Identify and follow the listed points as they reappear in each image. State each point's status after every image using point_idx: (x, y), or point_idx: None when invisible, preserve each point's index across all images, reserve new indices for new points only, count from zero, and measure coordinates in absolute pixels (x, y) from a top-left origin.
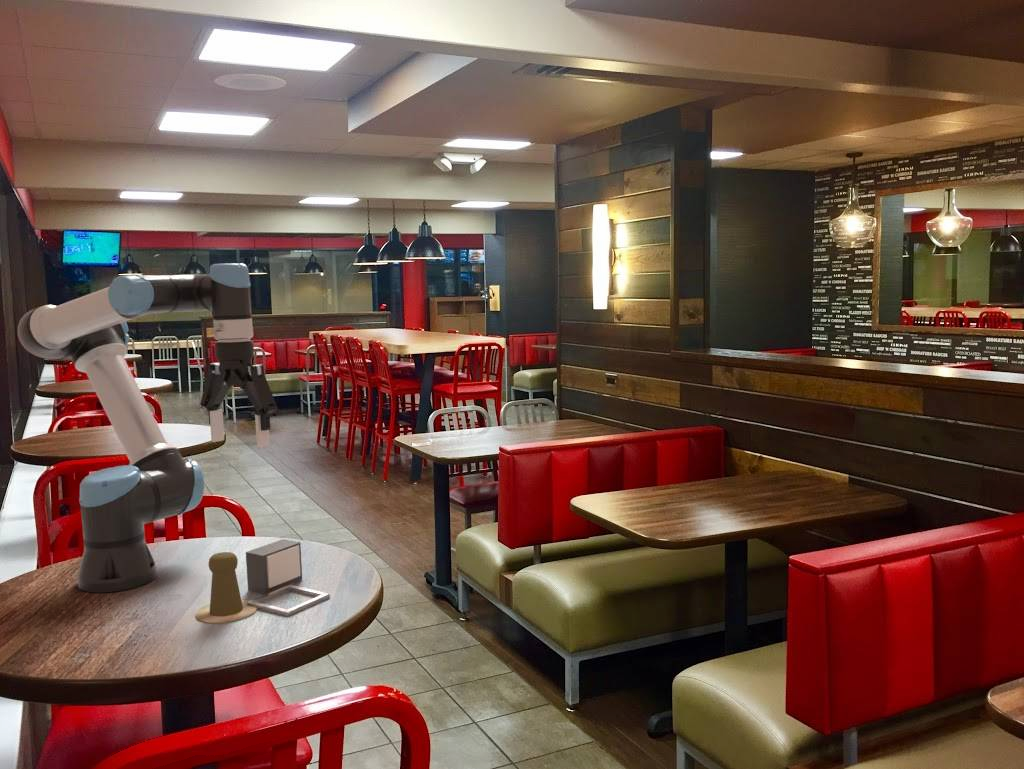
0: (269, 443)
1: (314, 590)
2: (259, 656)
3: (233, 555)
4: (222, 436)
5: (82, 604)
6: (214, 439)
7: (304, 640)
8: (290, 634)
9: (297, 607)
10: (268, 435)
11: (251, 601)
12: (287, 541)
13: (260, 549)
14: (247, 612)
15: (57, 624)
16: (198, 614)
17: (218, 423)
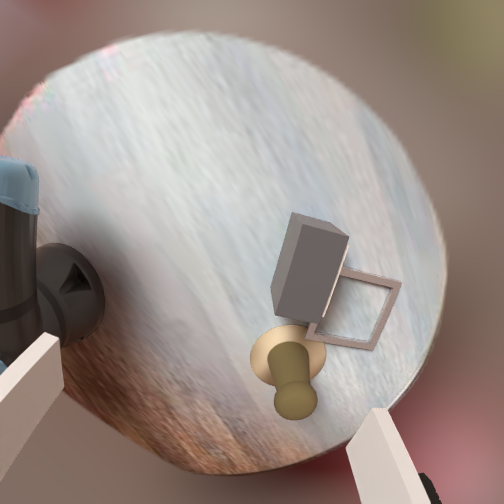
0: (388, 415)
1: (378, 277)
2: None
3: (313, 403)
4: (50, 358)
5: (97, 365)
6: (58, 391)
7: (406, 384)
8: (389, 380)
9: (378, 334)
10: (399, 444)
11: (310, 335)
12: (320, 237)
13: (294, 295)
14: (319, 357)
15: (127, 409)
16: (260, 375)
17: (16, 418)
